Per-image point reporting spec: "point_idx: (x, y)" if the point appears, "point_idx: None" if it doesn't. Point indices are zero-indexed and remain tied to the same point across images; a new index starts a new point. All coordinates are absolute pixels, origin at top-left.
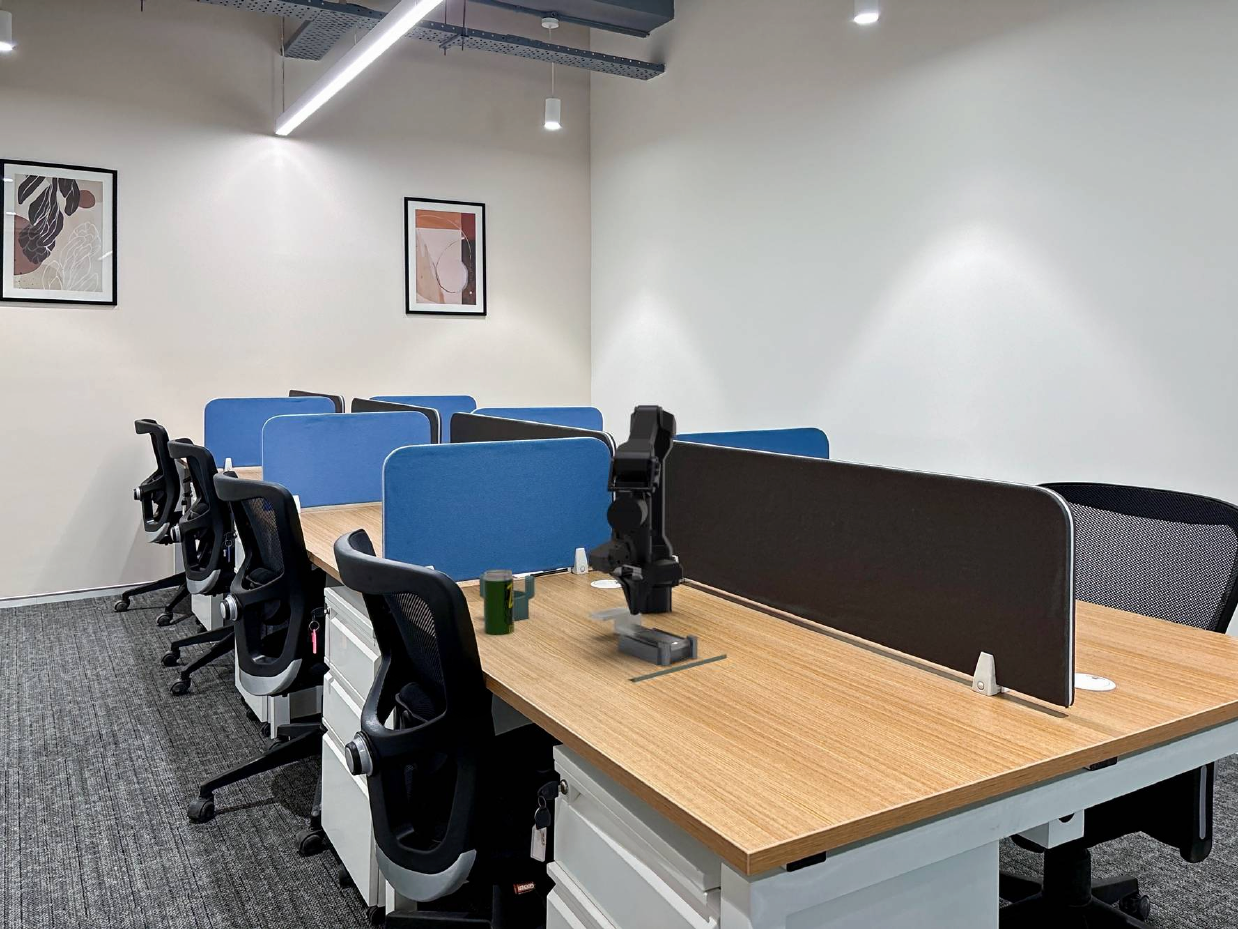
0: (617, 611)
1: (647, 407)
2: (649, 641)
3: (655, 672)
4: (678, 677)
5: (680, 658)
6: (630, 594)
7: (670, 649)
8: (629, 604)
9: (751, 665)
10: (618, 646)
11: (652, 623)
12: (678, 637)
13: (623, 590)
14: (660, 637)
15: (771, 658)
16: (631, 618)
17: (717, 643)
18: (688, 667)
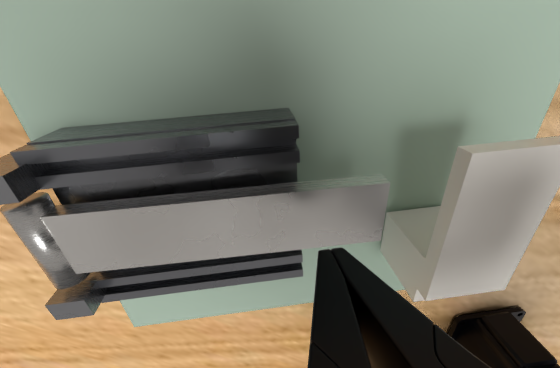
0: (477, 247)
1: None
2: (177, 194)
3: (6, 88)
4: (2, 150)
5: None
6: (363, 358)
7: None
8: (361, 283)
9: (67, 327)
10: (290, 112)
11: (447, 309)
12: (167, 284)
13: (471, 363)
14: (142, 232)
15: (104, 365)
16: (415, 263)
17: (248, 338)
18: None
